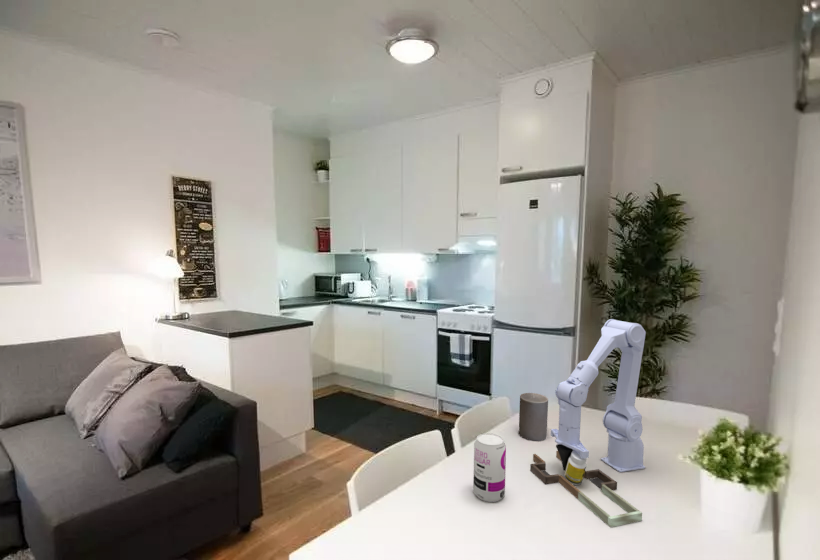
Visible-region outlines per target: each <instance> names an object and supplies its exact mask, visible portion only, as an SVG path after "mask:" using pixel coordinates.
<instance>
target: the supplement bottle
mask: <svg viewBox="0 0 820 560" xmlns="http://www.w3.org/2000/svg"><path fill="white" fill-rule="evenodd" d="M587 460H588V458H581V457H580V455H579V454H578V453H577V452H575V451H574V450H573V451H572V453H571V456H570V457H569V459H568V462H567V466H566V470H565V471H564V474H563V475H564V476H563V477H564V478H565V479H566V480H568V481H569V482H570V483H571V484H573V485H574V486H579V485H581V484H582V483H583V480H584V478H583V476H584V473H585V471H586V469H587Z"/></svg>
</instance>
